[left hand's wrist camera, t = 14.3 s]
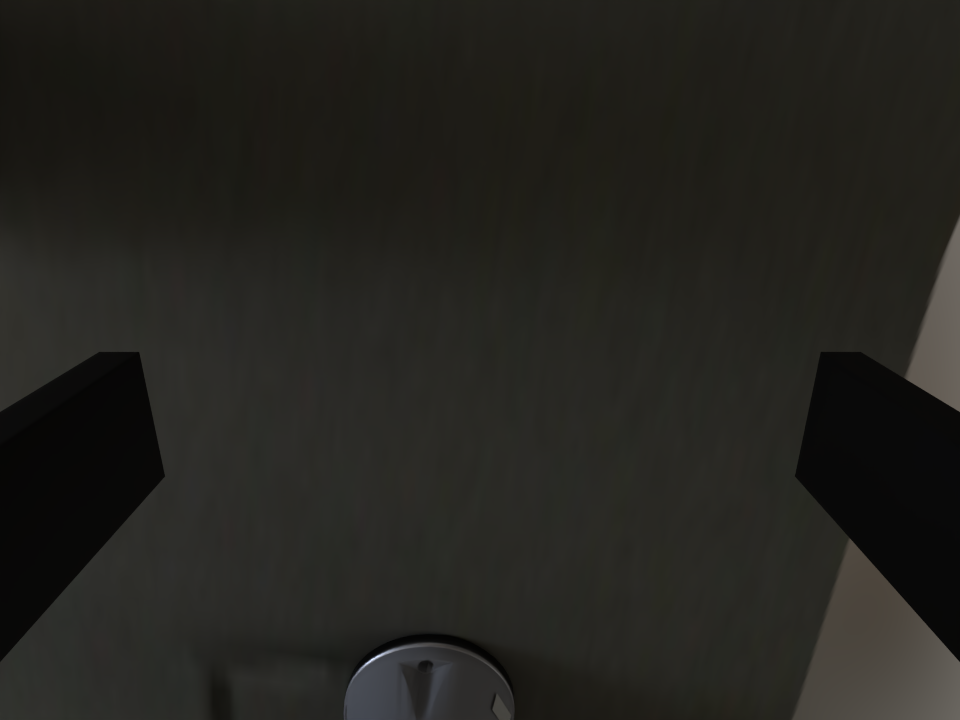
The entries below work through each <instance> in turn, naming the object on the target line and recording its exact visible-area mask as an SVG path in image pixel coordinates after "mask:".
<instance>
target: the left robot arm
mask: <svg viewBox="0 0 960 720" xmlns="http://www.w3.org/2000/svg"><path fill="white" fill-rule="evenodd" d="M164 477H165V474H164V469H163V465H162V460H161V455H160V450H159V445H158V441H157V436H156V431H155V426H154V421H153V417H152V412H151V407H150V402H149V397H148V393H147V388H146V383H145V378H144V373H143V369H142V364H141V359H140V354H139V352H99V353H97V354H95V355H94V356H92V357H90V358H89V359H87V360H85V361H84V362H82V363H80V364H79V365H77V366H76V367H74V368H72V369H71V370H69V371H67V372H66V373H64V374H62V375H61V376H59V377H57V378H56V379H54V380H52V381H51V382H49V383H47V384H46V385H44V386H42V387H41V388H39V389H38V390H36V391H34V392H33V393H31V394H29V395H28V396H26V397H24V398H23V399H21V400H19V401H18V402H16V403H14V404H13V405H11V406H9V407H8V408H6V409H5V410H3V411H1V412H0V661H1V660H2V659H3V658H4V657H5V656H6V655H7V654H8V652H9V651H10V650H11V649H12V648H13V647H14V646H15V645H16V643H17V642H18V641H19V640H20V639H21V638H22V637H23V636H24V634H25V633H26V632H27V631H28V630H29V629H30V628H31V627H32V625H33V624H34V623H35V622H36V621H37V620H38V619H39V618H40V616H41V615H42V614H43V613H44V612H45V611H46V610H47V609H48V607H49V606H50V605H51V604H52V603H53V602H54V601H55V600H56V598H57V597H58V596H59V595H60V594H61V593H62V592H63V591H64V589H65V588H66V587H67V586H68V585H69V584H70V583H71V582H72V580H73V579H74V578H75V577H76V576H77V575H78V574H79V573H80V571H81V570H82V569H83V568H84V567H85V566H86V565H87V564H88V562H89V561H90V560H91V559H92V558H93V557H94V556H95V555H96V553H97V552H98V551H99V550H100V549H101V548H102V547H103V546H104V544H105V543H106V542H107V541H108V540H109V539H110V538H111V536H112V535H113V534H114V533H115V532H116V531H117V530H118V529H119V527H120V526H121V525H122V524H123V523H124V522H125V521H126V520H127V518H128V517H129V516H130V515H131V514H132V513H133V512H134V511H135V509H136V508H137V507H138V506H139V505H140V504H141V503H142V502H143V500H144V499H145V498H146V497H147V496H148V495H149V494H150V493H151V491H152V490H153V489H154V488H155V487H156V486H157V485H158V484H159V482H160V481H161V480H162V479H163V478H164ZM795 477H796V478H797V479H798V480H799V481H800V482H801V484H802V485H803V486H804V487H805V488H806V489H807V490H808V491H809V493H810V494H811V495H812V496H813V497H814V498H815V499H816V500H817V502H818V503H819V504H820V505H821V506H822V507H823V508H824V509H825V511H826V512H827V513H828V514H829V515H830V516H831V517H832V518H833V520H834V521H835V522H836V523H837V524H838V525H839V526H840V527H841V529H842V530H843V531H844V532H845V533H846V534H847V535H848V536H849V538H850V539H851V540H852V541H853V542H854V543H855V544H856V545H857V547H858V548H859V549H860V550H861V551H862V552H863V553H864V555H865V556H866V557H867V558H868V559H869V560H870V561H871V562H872V564H873V565H874V566H875V567H876V568H877V569H878V570H879V571H880V573H881V574H882V575H883V576H884V577H885V578H886V579H887V580H888V581H889V583H890V584H891V585H892V586H893V587H894V588H895V589H896V591H897V592H898V593H899V594H900V595H901V596H902V597H903V598H904V600H905V601H906V602H907V603H908V604H909V605H910V606H911V607H912V609H913V610H914V611H915V612H916V613H917V614H918V615H919V616H920V618H921V619H922V620H923V621H924V622H925V623H926V624H927V625H928V627H929V628H930V629H931V630H932V631H933V632H934V633H935V634H936V636H937V637H938V638H939V639H940V640H941V641H942V642H943V643H944V645H945V646H946V647H947V648H948V649H949V650H950V651H951V652H952V654H953V655H954V656H955V657H956V658H957V659H958V660H959V661H960V412H959V411H957V410H955V409H954V408H952V407H950V406H949V405H947V404H946V403H944V402H942V401H941V400H939V399H937V398H936V397H934V396H932V395H931V394H929V393H927V392H926V391H924V390H922V389H921V388H919V387H918V386H916V385H914V384H913V383H911V382H909V381H908V380H906V379H904V378H903V377H901V376H899V375H898V374H896V373H894V372H893V371H891V370H889V369H888V368H886V367H884V366H883V365H881V364H880V363H878V362H876V361H875V360H873V359H871V358H870V357H868V356H866V355H865V354H863V353H861V352H821V354H820V359H819V364H818V369H817V373H816V378H815V383H814V388H813V393H812V397H811V402H810V407H809V412H808V417H807V421H806V426H805V431H804V436H803V441H802V445H801V450H800V455H799V460H798V465H797V469H796V474H795ZM514 712H515V711H514V693H513V687H512V684H511V681H510V679H509V676H508V674H507V673H506V671H505V669H504V668H503V667H502V666H501V664H500V663H499V662H498V661H497V660H496V659H495V658H494V657H493V656H491V655H490V654H489V653H487V652H486V651H485V650H483V649H481V648H479V647H478V646H476V645H474V644H471V643H469V642H467V641H464V640H461V639H457V638H454V637H449V636H442V635H414V636H408V637H403V638H399V639H396V640H393V641H390V642H387V643H385V644H383V645H381V646H379V647H378V648H376V649H374V650H373V651H372V652H370V653H369V654H368V655H366V656H365V657H364V658H363V659H362V660H361V661H360V662H359V664H358V665H357V666H356V668H355V669H354V671H353V673H352V675H351V677H350V680H349V684H348V688H347V692H346V696H345V703H344V720H514Z"/></svg>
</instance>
